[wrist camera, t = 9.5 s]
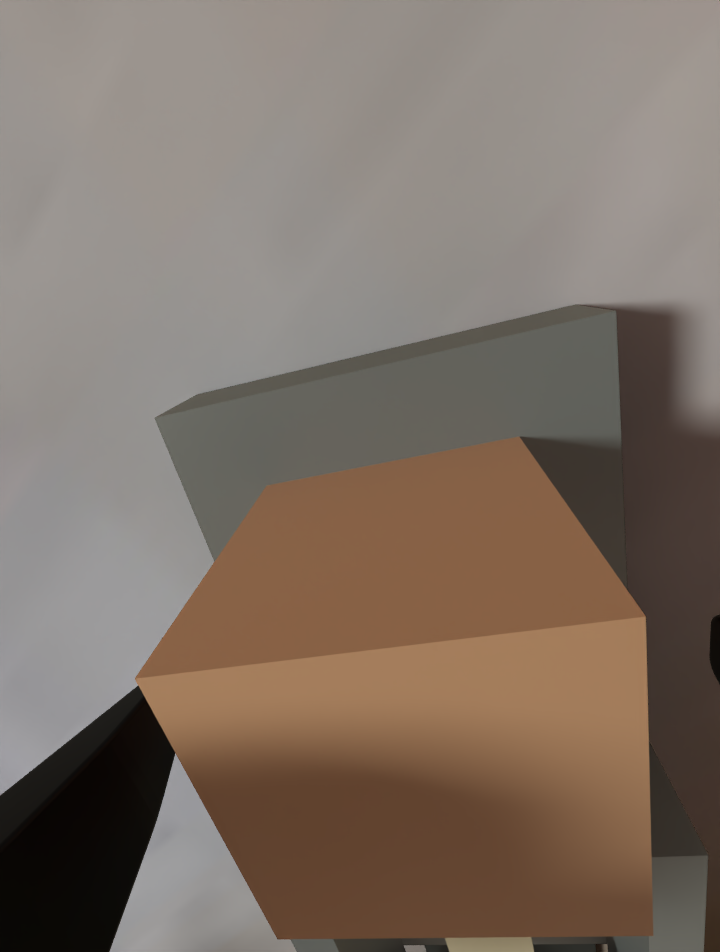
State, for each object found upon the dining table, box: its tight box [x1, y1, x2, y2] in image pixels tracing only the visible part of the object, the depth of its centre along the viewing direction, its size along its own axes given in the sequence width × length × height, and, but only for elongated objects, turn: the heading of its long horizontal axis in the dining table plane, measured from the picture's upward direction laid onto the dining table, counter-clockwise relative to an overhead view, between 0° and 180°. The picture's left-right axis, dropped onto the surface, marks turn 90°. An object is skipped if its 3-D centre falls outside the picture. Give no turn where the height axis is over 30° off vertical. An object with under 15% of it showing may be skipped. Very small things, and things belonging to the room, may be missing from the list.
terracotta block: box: [135, 437, 653, 939], centre depth 8 cm, size 5×5×5 cm
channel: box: [155, 305, 708, 952], centre depth 13 cm, size 28×8×5 cm, turn 14°
